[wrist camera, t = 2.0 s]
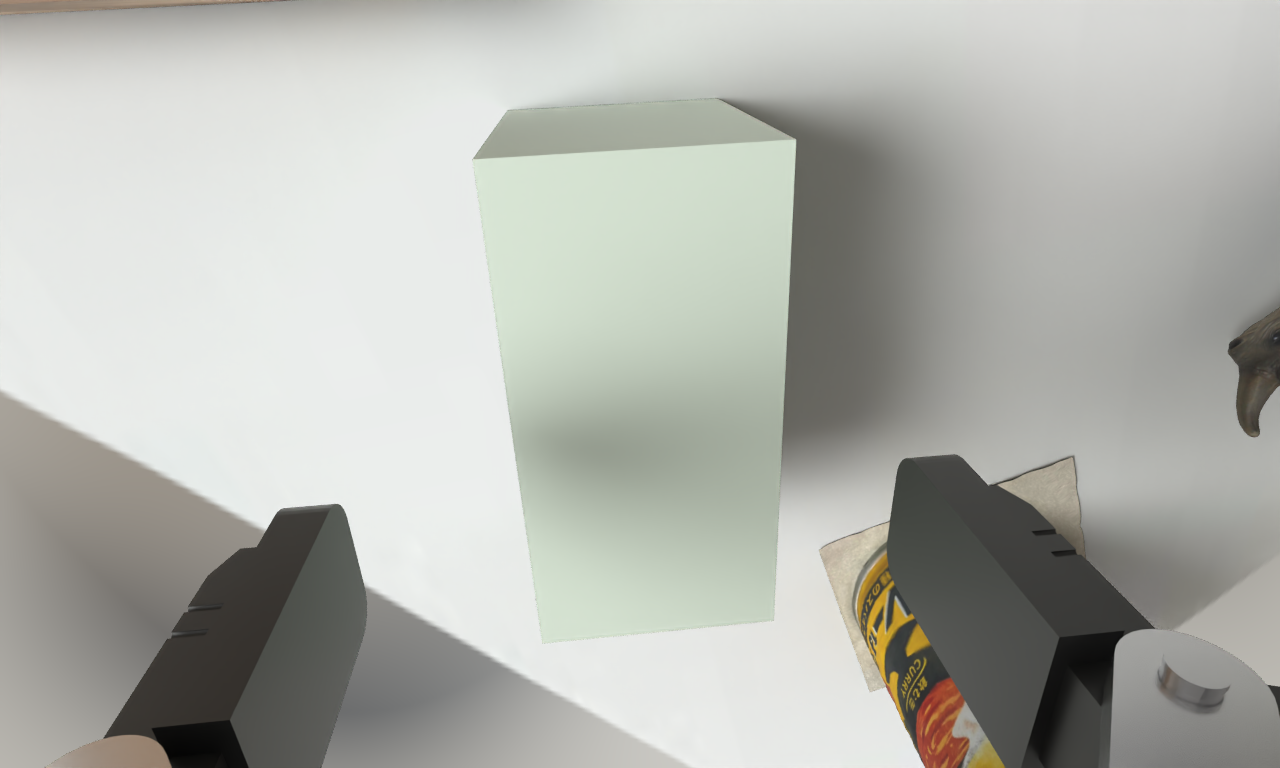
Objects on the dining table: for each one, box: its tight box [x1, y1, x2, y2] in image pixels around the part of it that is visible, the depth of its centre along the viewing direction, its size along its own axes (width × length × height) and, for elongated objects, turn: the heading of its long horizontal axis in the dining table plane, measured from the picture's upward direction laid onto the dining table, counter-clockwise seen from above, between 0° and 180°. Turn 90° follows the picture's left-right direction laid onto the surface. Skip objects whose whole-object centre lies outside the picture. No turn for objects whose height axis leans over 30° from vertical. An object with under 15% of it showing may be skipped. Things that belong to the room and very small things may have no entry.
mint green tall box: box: [472, 98, 796, 644], centre depth 17 cm, size 5×11×7 cm, turn 3°
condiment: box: [819, 457, 1086, 768], centre depth 20 cm, size 7×8×12 cm
